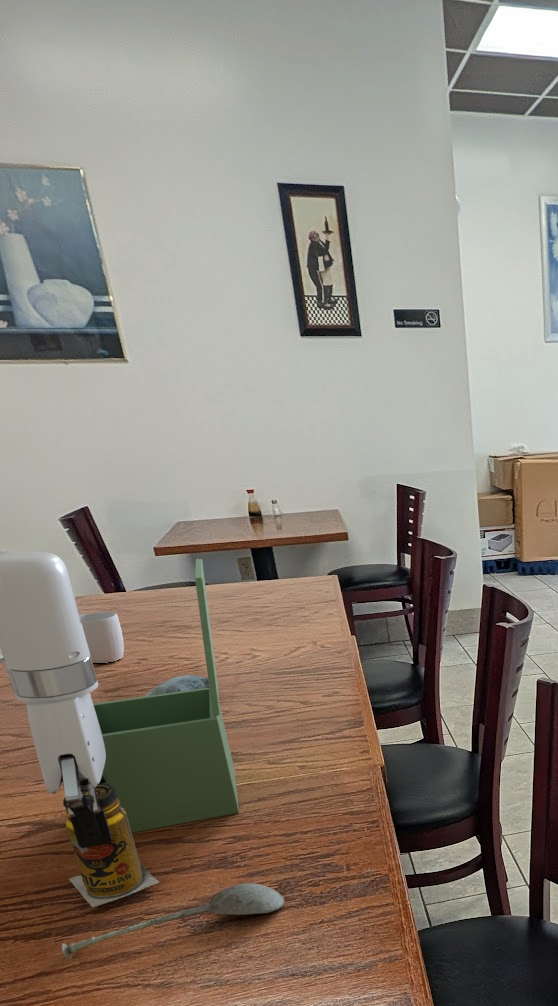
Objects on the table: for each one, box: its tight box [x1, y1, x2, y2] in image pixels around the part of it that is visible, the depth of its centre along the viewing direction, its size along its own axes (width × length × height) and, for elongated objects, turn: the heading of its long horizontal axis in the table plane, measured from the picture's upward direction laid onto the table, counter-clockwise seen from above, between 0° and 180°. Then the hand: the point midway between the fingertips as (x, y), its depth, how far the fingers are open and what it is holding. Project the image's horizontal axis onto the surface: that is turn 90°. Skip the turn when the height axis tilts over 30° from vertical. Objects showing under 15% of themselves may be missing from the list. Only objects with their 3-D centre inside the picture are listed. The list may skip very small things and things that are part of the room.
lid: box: [194, 558, 220, 716], centre depth 110 cm, size 18×15×1 cm
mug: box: [79, 611, 125, 663], centre depth 184 cm, size 13×9×10 cm
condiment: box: [62, 785, 160, 908], centre depth 93 cm, size 7×8×12 cm
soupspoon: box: [61, 882, 286, 960], centre depth 88 cm, size 22×3×7 cm
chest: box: [93, 688, 240, 834], centre depth 114 cm, size 17×15×14 cm
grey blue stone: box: [144, 674, 209, 696], centre depth 155 cm, size 9×12×5 cm
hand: (99, 829), depth 92 cm, fingers closed on condiment, 6 cm apart
